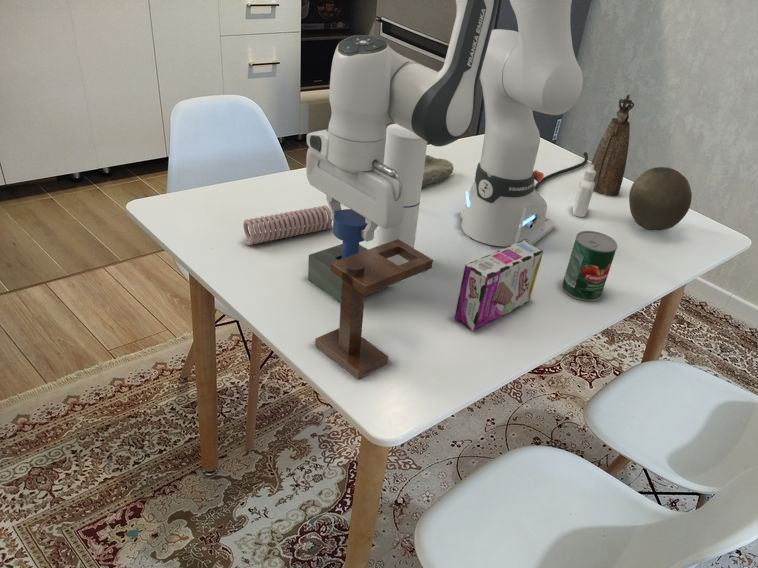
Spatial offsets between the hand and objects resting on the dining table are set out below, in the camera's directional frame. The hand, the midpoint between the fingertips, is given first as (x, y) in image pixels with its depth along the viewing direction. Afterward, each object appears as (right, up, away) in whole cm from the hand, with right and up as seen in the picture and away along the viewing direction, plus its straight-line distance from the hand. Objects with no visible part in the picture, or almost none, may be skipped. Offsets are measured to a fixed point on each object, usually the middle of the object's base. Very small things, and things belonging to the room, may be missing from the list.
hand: (351, 229), depth 111 cm
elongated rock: (+3, +18, +44) cm, 48 cm away
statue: (+55, +22, +62) cm, 86 cm away
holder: (-2, -8, +6) cm, 11 cm away
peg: (-2, -8, +6) cm, 11 cm away
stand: (+5, -19, -7) cm, 21 cm away
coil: (-15, +2, +17) cm, 23 cm away
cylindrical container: (+5, -3, +16) cm, 17 cm away
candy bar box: (+20, -12, -2) cm, 23 cm away
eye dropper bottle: (+47, +13, +48) cm, 68 cm away
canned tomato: (+42, -9, +18) cm, 46 cm away
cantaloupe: (+63, +8, +46) cm, 79 cm away
